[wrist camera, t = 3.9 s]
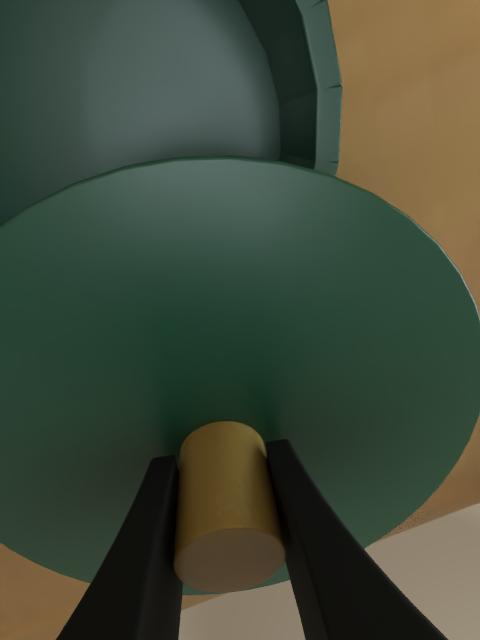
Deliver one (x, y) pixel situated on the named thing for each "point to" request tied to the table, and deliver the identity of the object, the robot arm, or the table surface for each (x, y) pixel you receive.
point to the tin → (161, 87)
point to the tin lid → (224, 361)
